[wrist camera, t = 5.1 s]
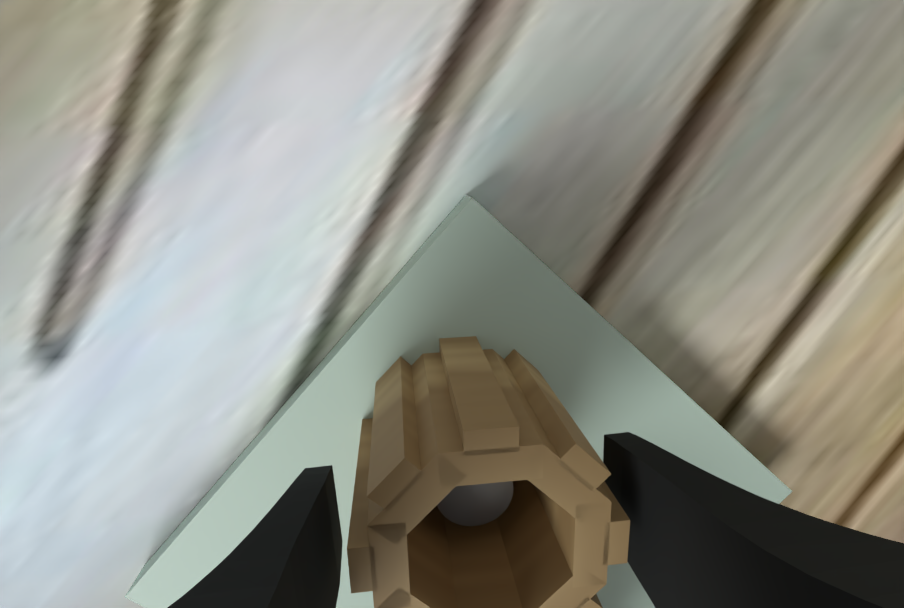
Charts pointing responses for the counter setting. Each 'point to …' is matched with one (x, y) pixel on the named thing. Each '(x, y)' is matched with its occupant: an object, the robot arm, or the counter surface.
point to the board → (418, 331)
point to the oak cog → (479, 462)
